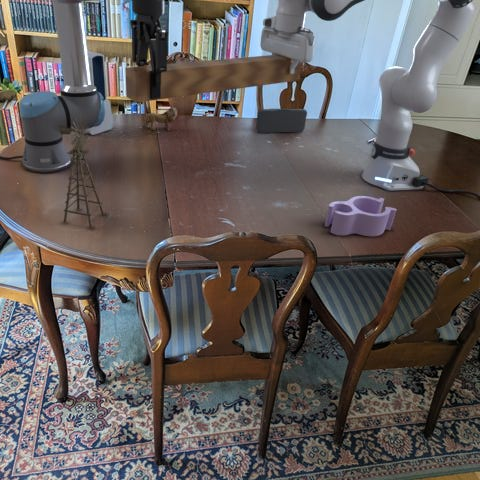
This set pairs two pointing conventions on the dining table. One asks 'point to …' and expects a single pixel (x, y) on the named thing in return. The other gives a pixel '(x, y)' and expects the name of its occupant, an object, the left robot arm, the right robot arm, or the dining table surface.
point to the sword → (371, 140)
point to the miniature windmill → (78, 148)
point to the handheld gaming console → (281, 120)
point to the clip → (359, 216)
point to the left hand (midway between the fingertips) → (149, 94)
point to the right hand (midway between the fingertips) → (283, 71)
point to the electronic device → (99, 90)
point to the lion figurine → (162, 118)
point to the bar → (210, 76)
